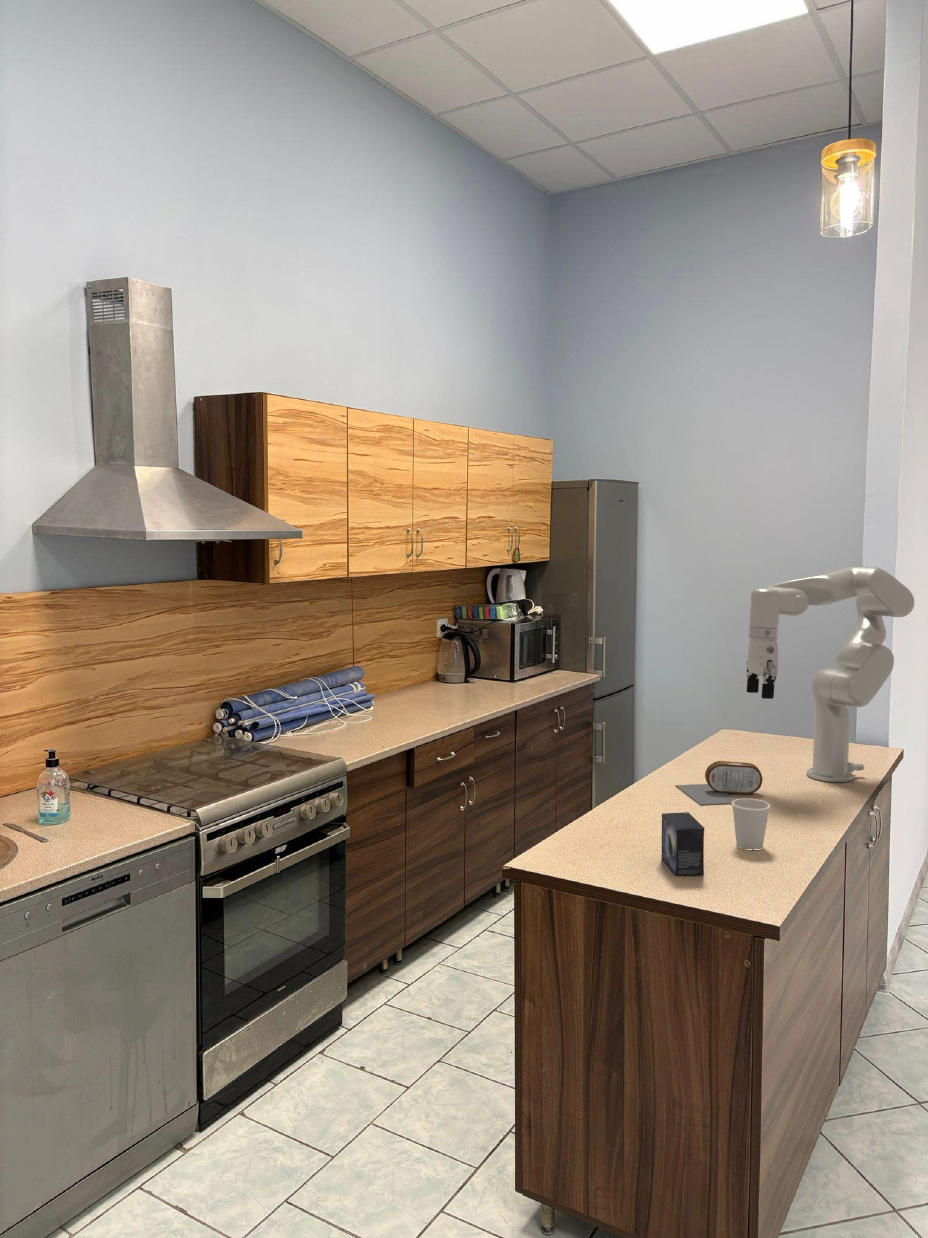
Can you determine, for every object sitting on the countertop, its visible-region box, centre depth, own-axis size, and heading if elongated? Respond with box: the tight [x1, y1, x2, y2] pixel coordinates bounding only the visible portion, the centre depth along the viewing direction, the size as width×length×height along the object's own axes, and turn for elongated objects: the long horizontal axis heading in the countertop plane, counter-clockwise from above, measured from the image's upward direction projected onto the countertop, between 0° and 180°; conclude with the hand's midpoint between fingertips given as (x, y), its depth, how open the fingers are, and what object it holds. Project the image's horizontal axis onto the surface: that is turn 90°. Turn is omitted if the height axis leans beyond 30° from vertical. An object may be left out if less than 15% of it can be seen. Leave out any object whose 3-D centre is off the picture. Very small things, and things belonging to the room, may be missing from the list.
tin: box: [704, 760, 763, 795], centre depth 246 cm, size 15×3×8 cm, turn 84°
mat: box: [674, 783, 736, 806], centre depth 245 cm, size 11×18×1 cm, turn 8°
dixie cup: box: [731, 797, 771, 850], centre depth 204 cm, size 8×8×10 cm
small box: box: [660, 811, 705, 877], centre depth 192 cm, size 11×6×10 cm, turn 5°
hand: (759, 695), depth 249 cm, fingers open, 9 cm apart
